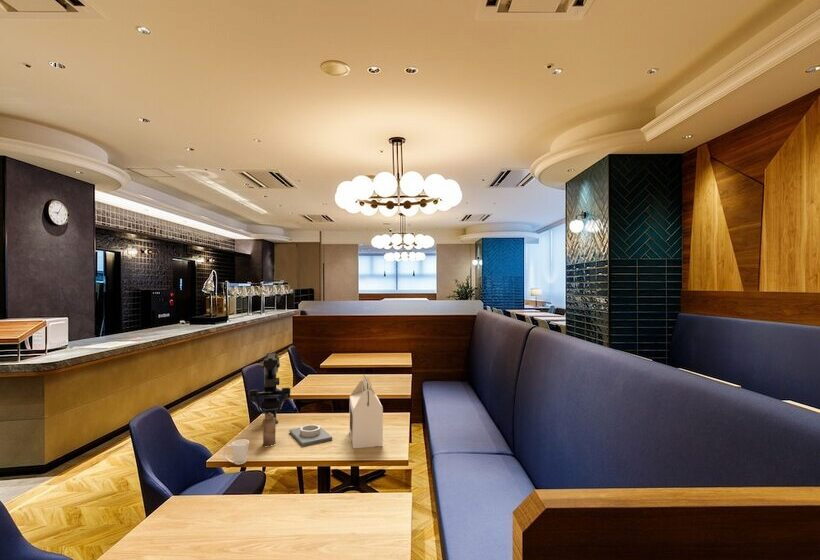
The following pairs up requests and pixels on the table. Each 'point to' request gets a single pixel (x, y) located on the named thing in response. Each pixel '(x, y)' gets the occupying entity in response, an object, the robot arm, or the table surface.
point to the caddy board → (311, 439)
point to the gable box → (365, 416)
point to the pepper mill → (269, 430)
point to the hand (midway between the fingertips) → (269, 410)
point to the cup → (238, 451)
